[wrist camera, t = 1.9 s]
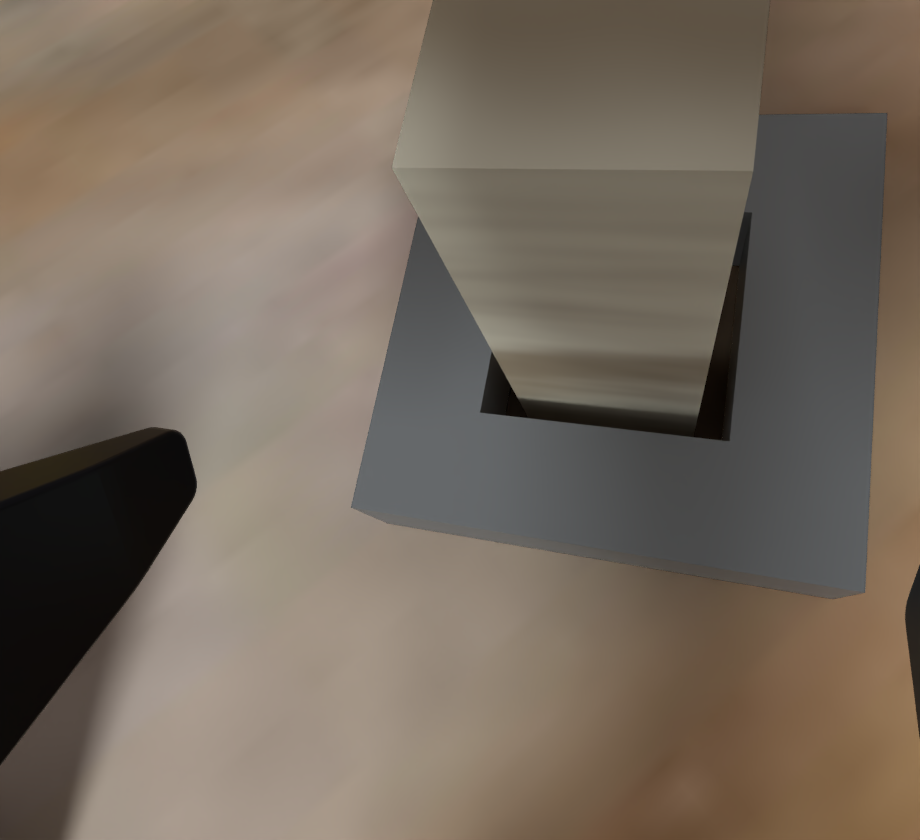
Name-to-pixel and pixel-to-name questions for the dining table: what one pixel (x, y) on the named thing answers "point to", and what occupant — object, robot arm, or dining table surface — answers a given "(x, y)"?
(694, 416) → the birch block
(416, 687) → the dining table surface
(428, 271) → the pocket plate
